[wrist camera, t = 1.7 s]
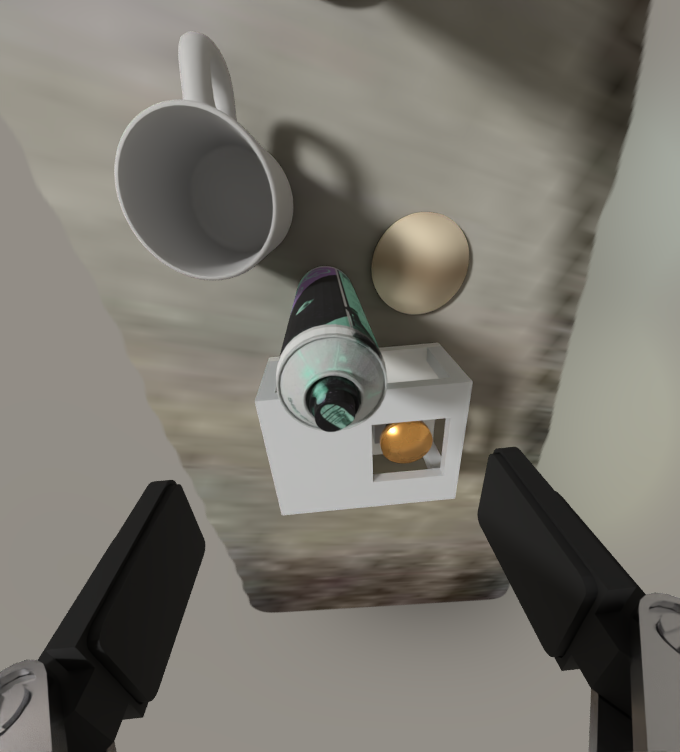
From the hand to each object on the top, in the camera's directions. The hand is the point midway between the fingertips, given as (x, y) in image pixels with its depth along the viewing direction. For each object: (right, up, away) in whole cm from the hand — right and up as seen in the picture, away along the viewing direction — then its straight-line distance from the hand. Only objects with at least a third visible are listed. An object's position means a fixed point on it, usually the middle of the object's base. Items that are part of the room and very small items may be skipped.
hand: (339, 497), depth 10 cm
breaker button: (+6, -1, +24) cm, 25 cm away
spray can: (-1, +12, +21) cm, 24 cm away
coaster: (+7, +14, +20) cm, 25 cm away
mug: (-8, +20, +16) cm, 27 cm away
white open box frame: (+2, 0, +27) cm, 27 cm away
